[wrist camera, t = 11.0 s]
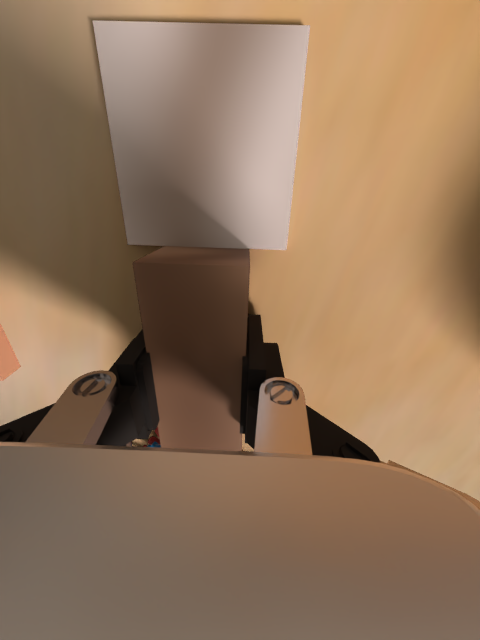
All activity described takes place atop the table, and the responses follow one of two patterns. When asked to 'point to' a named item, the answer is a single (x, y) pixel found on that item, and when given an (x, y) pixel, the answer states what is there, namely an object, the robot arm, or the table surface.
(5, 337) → the tile
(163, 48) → the turner
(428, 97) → the table surface
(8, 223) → the table surface
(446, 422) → the table surface
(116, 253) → the table surface
